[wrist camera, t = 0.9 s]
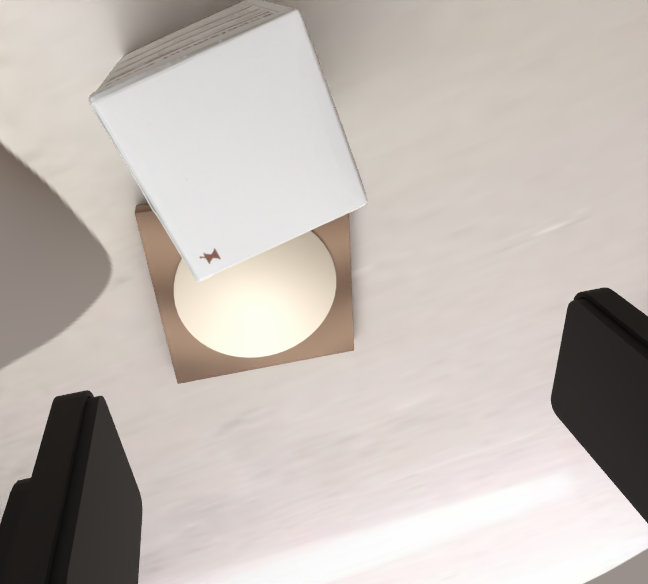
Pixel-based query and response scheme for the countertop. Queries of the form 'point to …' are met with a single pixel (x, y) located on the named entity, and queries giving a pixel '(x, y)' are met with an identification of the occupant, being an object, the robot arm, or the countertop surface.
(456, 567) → the countertop surface
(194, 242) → the supplement box
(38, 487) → the robot arm
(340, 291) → the board
